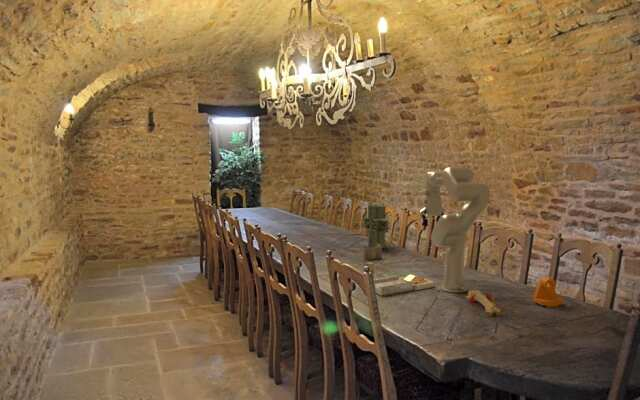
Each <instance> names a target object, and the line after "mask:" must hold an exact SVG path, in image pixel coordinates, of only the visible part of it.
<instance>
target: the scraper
mask: <svg viewBox="0 0 640 400" xmlns="http://www.w3.org/2000/svg"><path fill="white" fill-rule="evenodd" d="M366 266H368V267H369V268H370V272H371V273H372V274H373V277H374V279H378V278H377V277H376V276H375V275H374V274H375V262H371V261H369V262H365V267H366Z"/></svg>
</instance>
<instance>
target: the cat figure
mask: <svg viewBox="0 0 640 400" xmlns="http://www.w3.org/2000/svg"><path fill="white" fill-rule="evenodd" d="M484 294H485V295H484ZM484 294H482V292H481V290H478V289H473V290H468V292H467V295H465V299H467V300H468V301H469V303H470V305H472V306H475V303H474V302H478V303H480V304H481V305H483V306H484V308H485V312H486V313H487V316H489V317H492V316H494V314H495V315H496V316H497V315H498V317H499V316H502V312H501V310H500V309H499V308H498V307H496V306H497V299H496V298H495V297H492V298H491V296H490V295H489V294H488V293H484Z"/></svg>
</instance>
